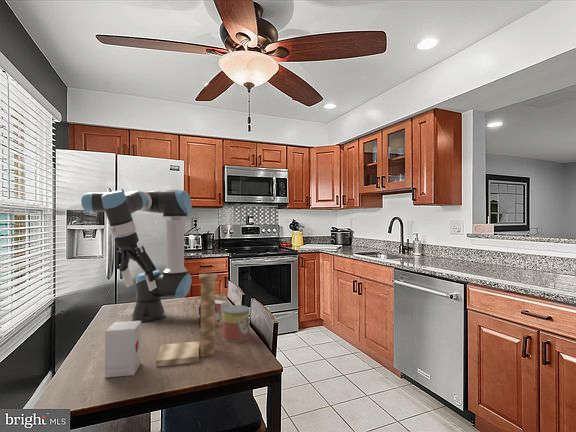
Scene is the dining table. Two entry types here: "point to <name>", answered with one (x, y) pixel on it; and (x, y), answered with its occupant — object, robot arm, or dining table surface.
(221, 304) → the small box
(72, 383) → the dining table surface
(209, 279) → the oak post
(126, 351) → the supplement box
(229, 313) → the canned food
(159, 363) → the maple pad
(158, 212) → the robot arm
